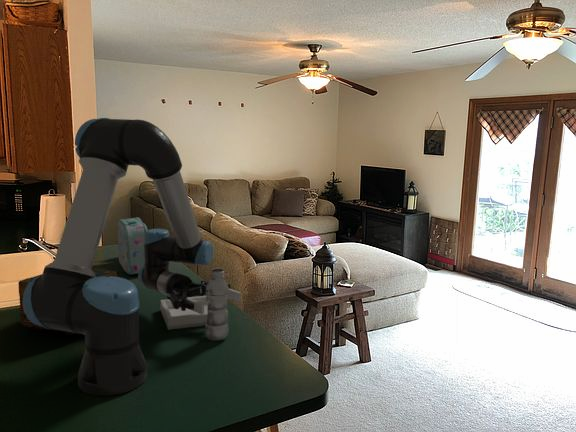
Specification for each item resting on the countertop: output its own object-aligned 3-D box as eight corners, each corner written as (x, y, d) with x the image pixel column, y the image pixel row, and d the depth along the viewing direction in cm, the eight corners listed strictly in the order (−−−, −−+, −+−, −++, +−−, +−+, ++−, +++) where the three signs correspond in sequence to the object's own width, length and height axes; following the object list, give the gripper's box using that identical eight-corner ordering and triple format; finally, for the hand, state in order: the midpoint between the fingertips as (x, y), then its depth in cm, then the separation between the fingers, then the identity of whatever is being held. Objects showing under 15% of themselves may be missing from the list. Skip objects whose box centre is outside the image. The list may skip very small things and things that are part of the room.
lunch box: (154, 276, 187) (154, 223, 183) (127, 279, 182) (126, 225, 178) (140, 259, 210) (139, 212, 206) (116, 261, 205) (115, 213, 201)
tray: (227, 322, 144) (228, 311, 144) (168, 329, 137) (168, 318, 137) (215, 304, 159) (215, 294, 158) (160, 310, 152) (160, 300, 151)
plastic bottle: (233, 338, 133) (234, 270, 130) (214, 345, 128) (215, 275, 125) (218, 331, 137) (220, 265, 134) (200, 338, 132) (200, 270, 129)
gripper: (206, 288, 153) (253, 304, 140) (139, 307, 135) (185, 328, 121) (207, 265, 152) (254, 280, 139) (139, 282, 133) (186, 301, 120)
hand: (222, 303), depth 130 cm, fingers open, 13 cm apart
